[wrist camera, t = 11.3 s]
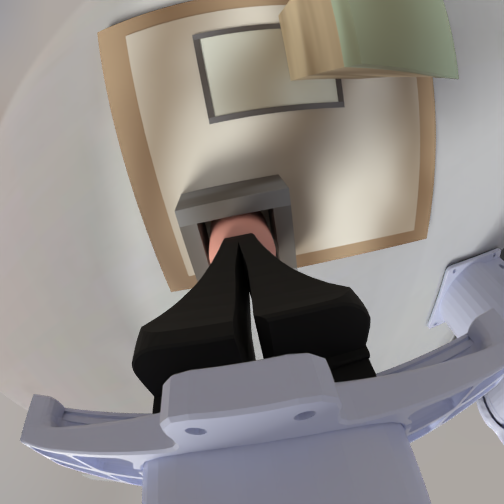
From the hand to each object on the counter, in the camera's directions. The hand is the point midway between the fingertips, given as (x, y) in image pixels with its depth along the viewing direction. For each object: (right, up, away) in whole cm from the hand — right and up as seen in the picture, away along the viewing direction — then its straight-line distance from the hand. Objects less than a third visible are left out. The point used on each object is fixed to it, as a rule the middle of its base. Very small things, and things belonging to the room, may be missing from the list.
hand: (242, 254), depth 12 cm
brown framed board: (+3, +6, +1) cm, 7 cm away
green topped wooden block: (+4, +10, -2) cm, 11 cm away
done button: (0, +1, +2) cm, 3 cm away
